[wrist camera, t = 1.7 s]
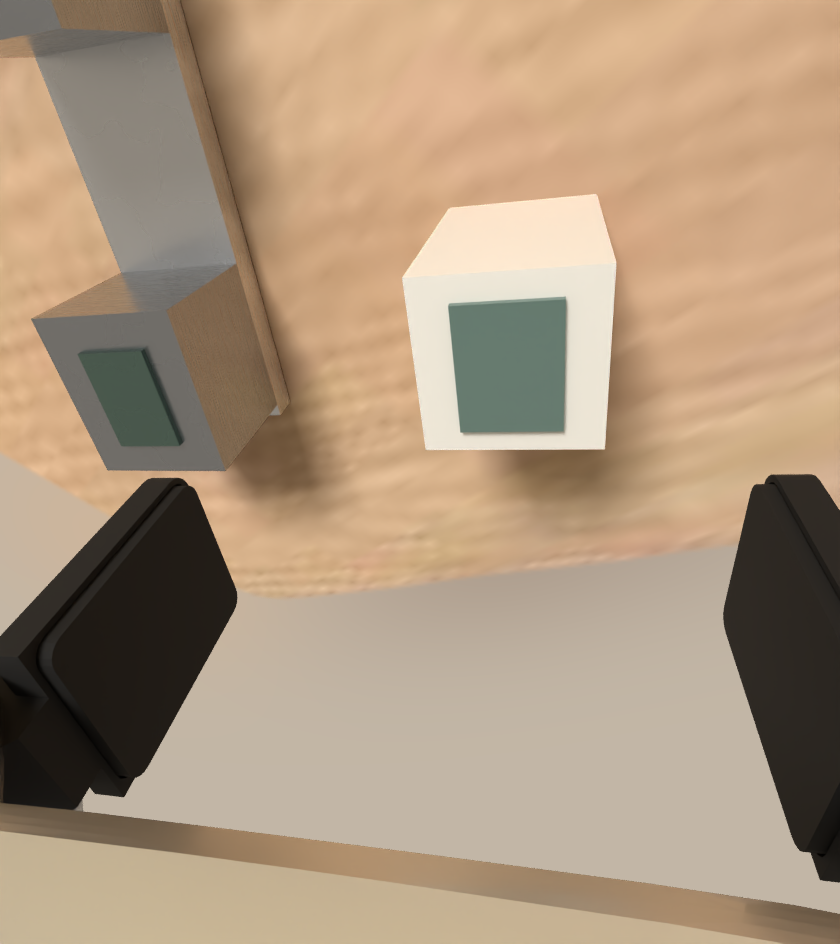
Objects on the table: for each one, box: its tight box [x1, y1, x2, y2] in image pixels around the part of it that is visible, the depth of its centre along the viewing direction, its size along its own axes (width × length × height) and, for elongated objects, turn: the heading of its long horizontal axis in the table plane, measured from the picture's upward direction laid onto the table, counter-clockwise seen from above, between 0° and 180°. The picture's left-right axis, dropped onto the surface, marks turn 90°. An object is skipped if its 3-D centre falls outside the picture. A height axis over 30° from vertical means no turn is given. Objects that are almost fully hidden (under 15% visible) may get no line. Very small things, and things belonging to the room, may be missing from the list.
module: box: [402, 194, 616, 450], centre depth 18 cm, size 5×5×8 cm
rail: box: [0, 0, 290, 471], centre depth 19 cm, size 5×20×6 cm, turn 7°
